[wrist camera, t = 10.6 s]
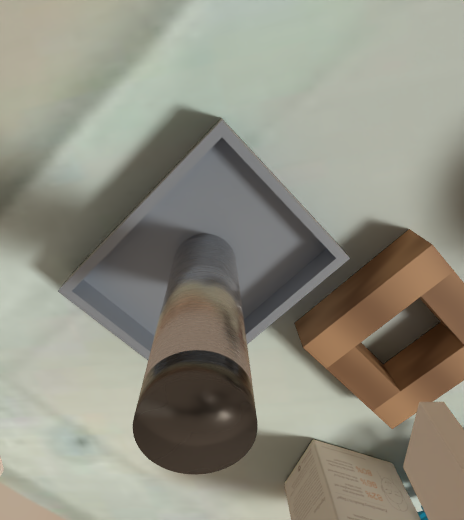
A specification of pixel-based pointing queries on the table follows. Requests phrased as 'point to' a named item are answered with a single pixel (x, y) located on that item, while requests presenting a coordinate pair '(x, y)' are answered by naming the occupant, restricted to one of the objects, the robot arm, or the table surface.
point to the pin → (198, 367)
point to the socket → (380, 312)
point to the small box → (346, 487)
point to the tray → (206, 222)
